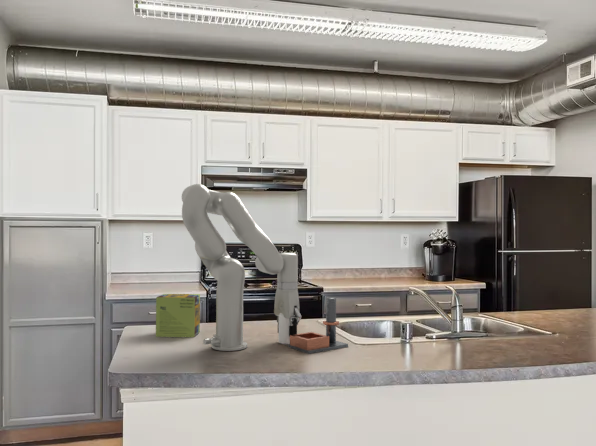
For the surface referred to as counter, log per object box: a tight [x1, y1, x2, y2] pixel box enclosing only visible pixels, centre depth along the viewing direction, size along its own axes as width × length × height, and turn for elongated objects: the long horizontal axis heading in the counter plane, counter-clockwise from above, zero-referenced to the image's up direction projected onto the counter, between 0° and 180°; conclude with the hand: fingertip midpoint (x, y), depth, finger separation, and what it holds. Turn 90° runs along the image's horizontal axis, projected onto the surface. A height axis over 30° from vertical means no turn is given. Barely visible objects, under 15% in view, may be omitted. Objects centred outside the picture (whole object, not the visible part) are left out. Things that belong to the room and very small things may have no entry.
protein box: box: [155, 293, 201, 338], centre depth 218 cm, size 10×15×16 cm
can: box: [277, 313, 295, 346], centre depth 204 cm, size 6×6×12 cm
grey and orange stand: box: [287, 297, 349, 355], centre depth 198 cm, size 18×12×17 cm, turn 127°
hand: (287, 334), depth 204 cm, fingers closed on can, 6 cm apart
